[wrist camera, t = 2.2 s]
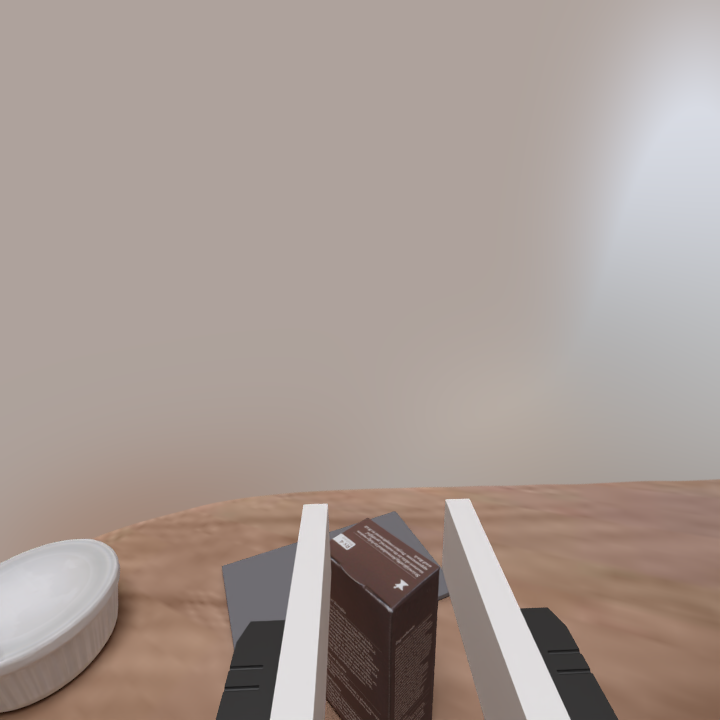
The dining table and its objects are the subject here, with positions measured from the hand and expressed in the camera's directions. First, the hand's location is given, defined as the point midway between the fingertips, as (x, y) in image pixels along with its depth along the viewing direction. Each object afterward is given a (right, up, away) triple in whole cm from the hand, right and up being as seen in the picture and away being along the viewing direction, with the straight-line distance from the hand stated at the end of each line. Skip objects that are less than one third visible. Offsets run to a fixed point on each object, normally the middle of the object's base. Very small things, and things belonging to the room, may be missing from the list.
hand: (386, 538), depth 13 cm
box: (0, -17, +13) cm, 22 cm away
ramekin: (-25, -16, +18) cm, 34 cm away
